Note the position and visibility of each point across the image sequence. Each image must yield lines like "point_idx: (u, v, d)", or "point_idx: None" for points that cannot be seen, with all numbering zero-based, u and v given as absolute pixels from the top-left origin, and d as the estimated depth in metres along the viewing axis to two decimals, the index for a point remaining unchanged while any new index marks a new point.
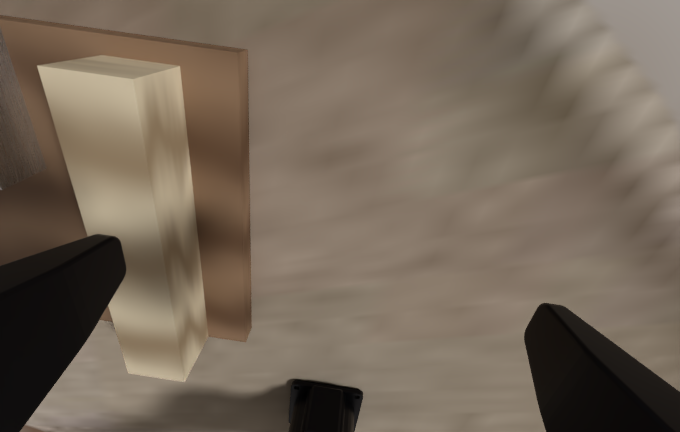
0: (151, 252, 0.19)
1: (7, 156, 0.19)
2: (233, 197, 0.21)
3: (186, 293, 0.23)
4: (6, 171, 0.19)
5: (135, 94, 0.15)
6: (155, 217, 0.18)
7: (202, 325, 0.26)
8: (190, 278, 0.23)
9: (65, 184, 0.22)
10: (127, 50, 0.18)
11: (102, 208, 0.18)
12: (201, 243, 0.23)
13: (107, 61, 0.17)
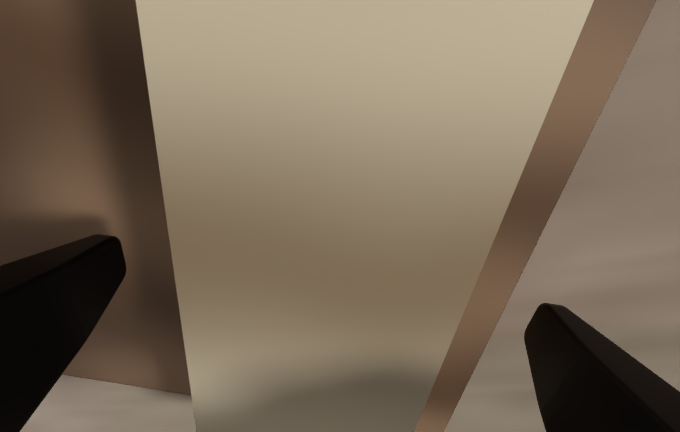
0: (444, 218, 0.04)
1: None
2: (599, 56, 0.07)
3: None
4: None
5: None
6: None
7: None
8: None
9: (56, 23, 0.07)
10: None
11: None
12: None
13: None
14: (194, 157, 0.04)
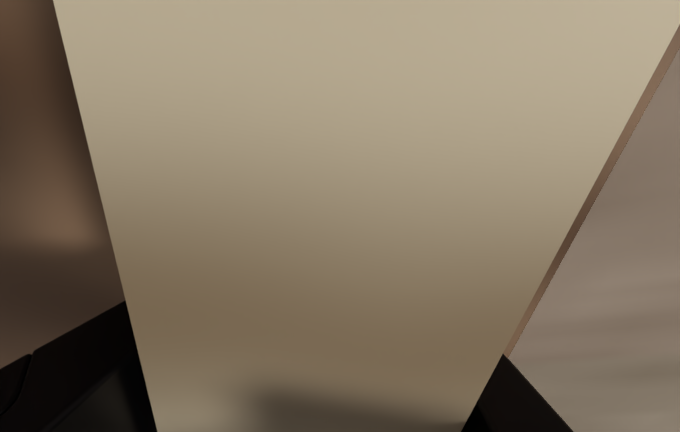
0: (466, 280, 0.03)
1: None
2: None
3: None
4: None
5: None
6: None
7: None
8: None
9: (15, 29, 0.06)
10: None
11: None
12: None
13: None
14: (148, 204, 0.03)
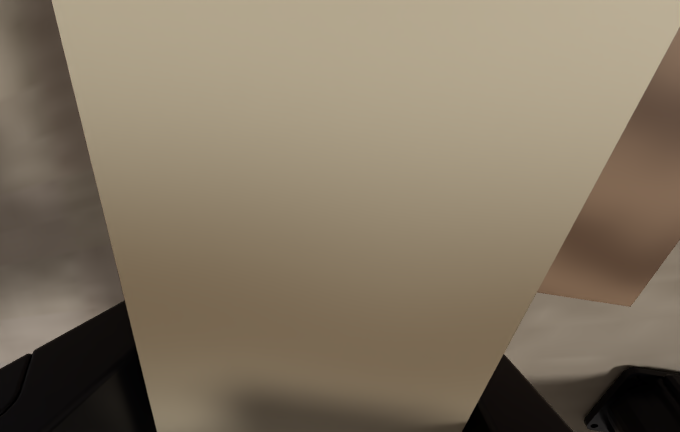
0: (469, 276, 0.03)
1: None
2: None
3: None
4: None
5: None
6: None
7: None
8: None
9: None
10: None
11: None
12: None
13: None
14: (147, 200, 0.03)
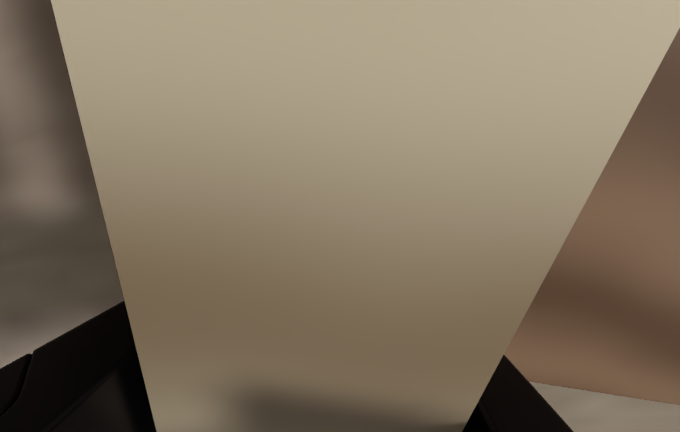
0: (468, 277, 0.03)
1: None
2: None
3: None
4: None
5: None
6: None
7: None
8: None
9: None
10: None
11: None
12: None
13: None
14: (146, 200, 0.03)
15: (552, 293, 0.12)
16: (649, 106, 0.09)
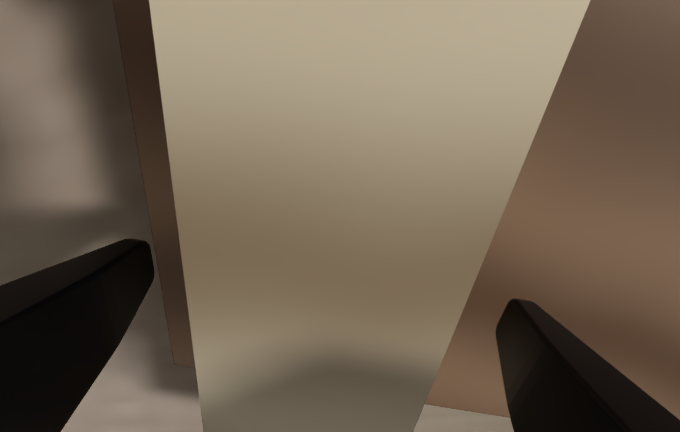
0: (444, 216, 0.04)
1: None
2: None
3: None
4: None
5: None
6: (585, 1, 0.03)
7: None
8: None
9: (632, 21, 0.06)
10: None
11: None
12: None
13: None
14: (204, 158, 0.04)
15: (577, 333, 0.10)
16: None
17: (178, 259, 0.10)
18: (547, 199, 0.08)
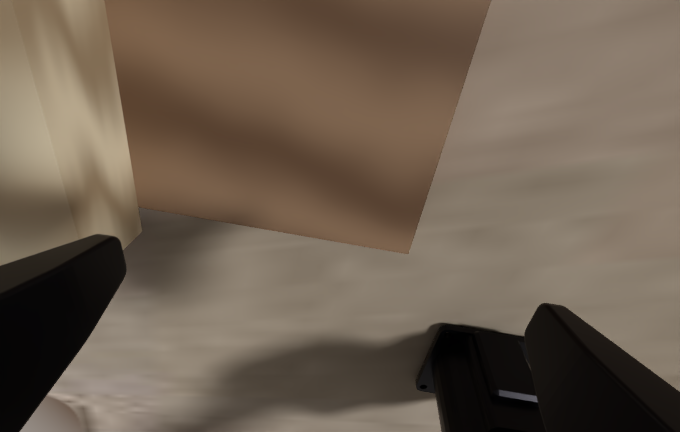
0: None
1: None
2: None
3: (84, 119, 0.13)
4: None
5: None
6: None
7: (128, 205, 0.17)
8: (94, 97, 0.14)
9: None
10: None
11: None
12: (396, 54, 0.13)
13: None
14: None
15: (244, 143, 0.16)
16: None
17: None
18: (180, 34, 0.14)
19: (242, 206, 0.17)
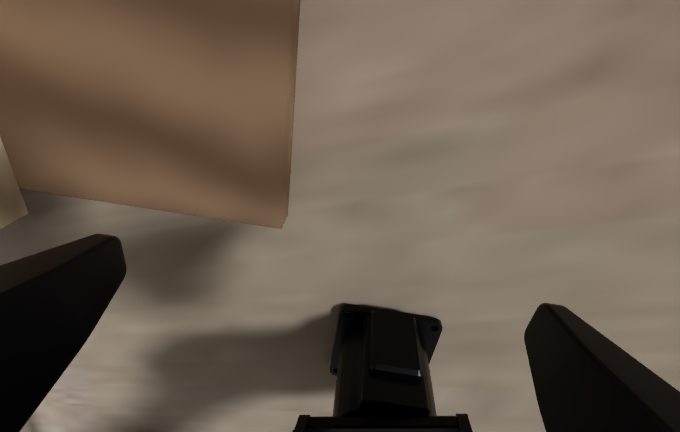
0: None
1: None
2: None
3: None
4: None
5: None
6: None
7: (3, 185, 0.18)
8: None
9: None
10: None
11: None
12: (220, 25, 0.14)
13: None
14: None
15: (101, 120, 0.16)
16: None
17: None
18: (18, 14, 0.14)
19: (114, 184, 0.18)
